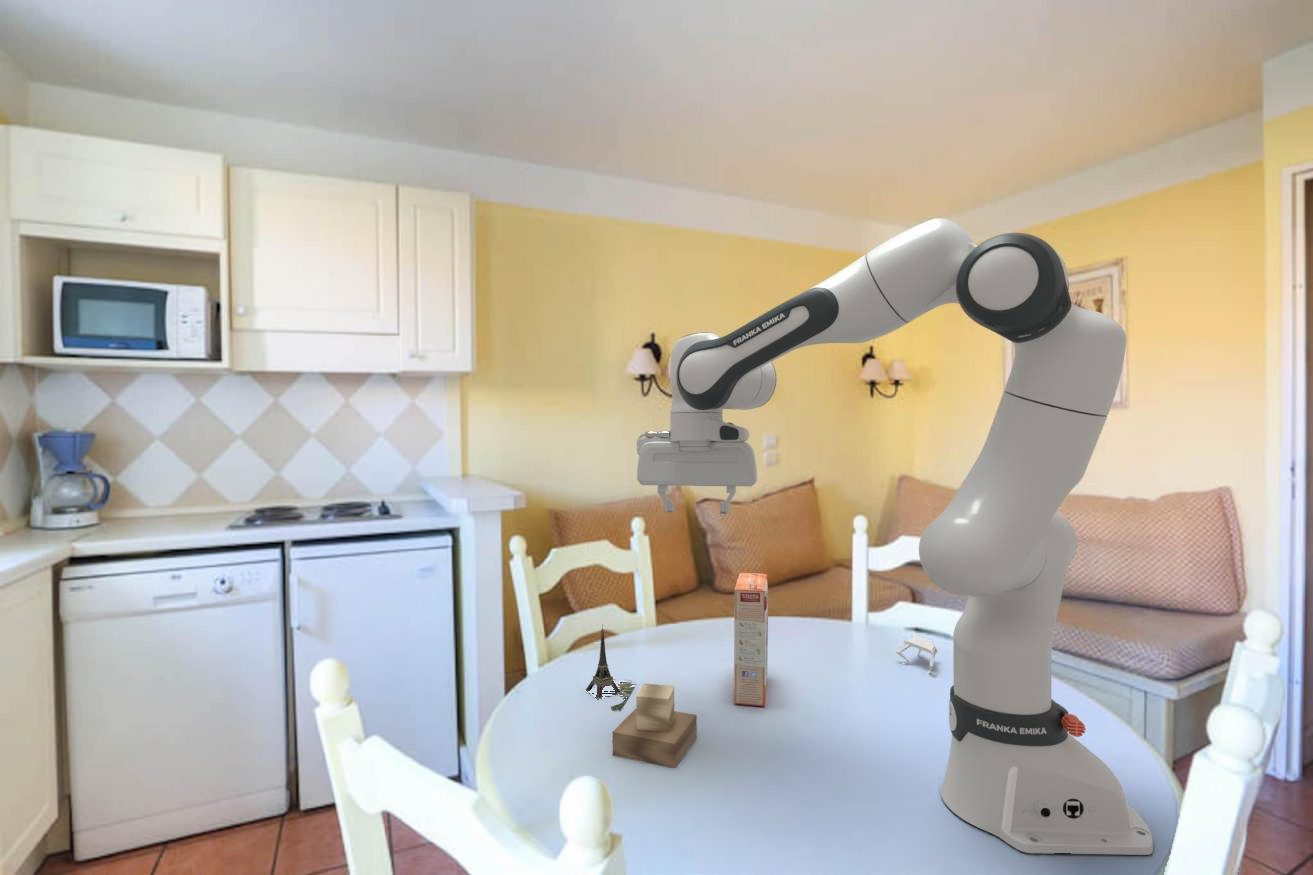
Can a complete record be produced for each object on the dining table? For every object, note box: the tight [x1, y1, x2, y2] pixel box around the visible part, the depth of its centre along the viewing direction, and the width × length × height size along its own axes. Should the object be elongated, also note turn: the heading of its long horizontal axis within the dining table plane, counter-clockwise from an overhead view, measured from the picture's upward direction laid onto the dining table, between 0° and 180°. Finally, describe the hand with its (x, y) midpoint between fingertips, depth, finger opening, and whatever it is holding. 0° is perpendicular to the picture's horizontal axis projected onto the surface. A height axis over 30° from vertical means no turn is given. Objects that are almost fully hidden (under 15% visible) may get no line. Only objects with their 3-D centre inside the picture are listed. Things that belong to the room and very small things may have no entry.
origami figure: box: [894, 634, 939, 676], centre depth 129 cm, size 12×8×5 cm
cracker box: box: [733, 572, 769, 707], centre depth 117 cm, size 14×6×21 cm, turn 168°
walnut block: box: [612, 708, 698, 769], centre depth 96 cm, size 10×10×4 cm
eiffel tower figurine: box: [584, 623, 637, 712], centre depth 117 cm, size 15×10×13 cm
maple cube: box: [635, 682, 675, 732], centre depth 96 cm, size 5×5×5 cm
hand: (696, 512), depth 105 cm, fingers open, 8 cm apart
